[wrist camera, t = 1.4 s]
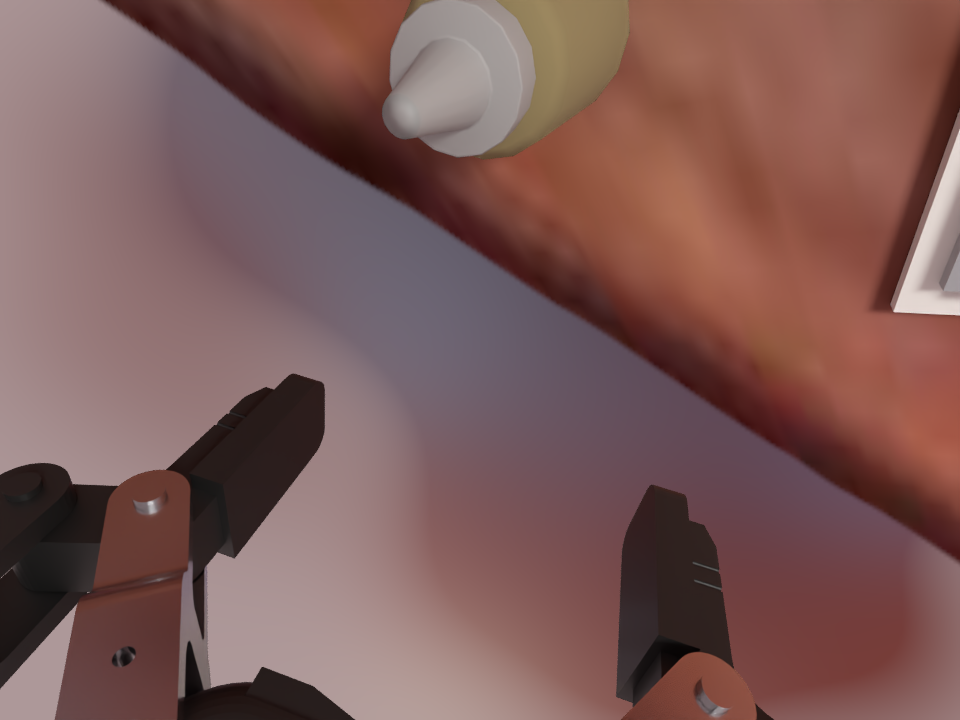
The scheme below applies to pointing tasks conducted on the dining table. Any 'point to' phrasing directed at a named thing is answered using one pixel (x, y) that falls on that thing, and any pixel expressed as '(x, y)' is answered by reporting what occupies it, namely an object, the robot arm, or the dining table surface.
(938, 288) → the pad
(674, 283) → the dining table surface
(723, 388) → the dining table surface
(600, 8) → the squeeze bottle
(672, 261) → the dining table surface
